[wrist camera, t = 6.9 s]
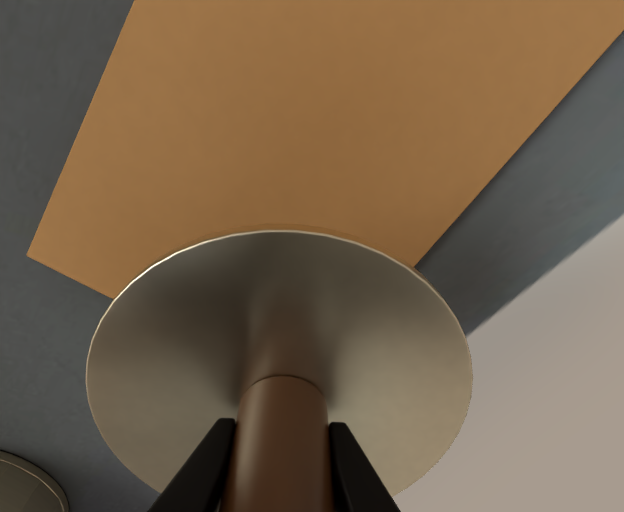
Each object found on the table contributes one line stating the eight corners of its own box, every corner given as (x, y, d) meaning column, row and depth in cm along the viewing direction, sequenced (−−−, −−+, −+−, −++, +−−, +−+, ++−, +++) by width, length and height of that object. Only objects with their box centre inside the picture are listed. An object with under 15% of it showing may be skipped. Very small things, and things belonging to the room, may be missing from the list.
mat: (674, -33, 12) (682, -36, 12) (301, 389, 19) (301, 394, 19) (335, -461, 9) (336, -478, 8) (30, 252, 16) (25, 255, 15)
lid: (501, 229, 9) (751, 398, 4) (418, 495, 13) (491, 742, 8) (75, 199, 9) (-252, 354, 4) (128, 488, 13) (13, 751, 8)
